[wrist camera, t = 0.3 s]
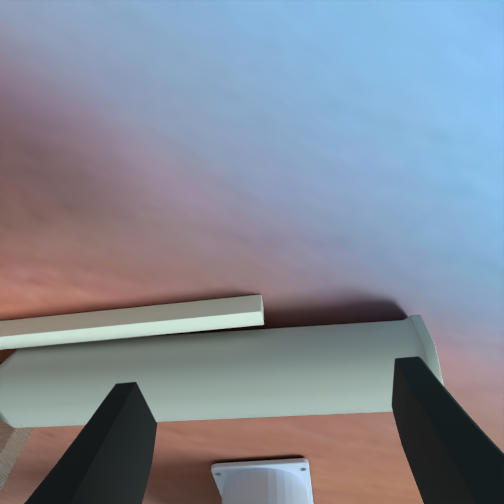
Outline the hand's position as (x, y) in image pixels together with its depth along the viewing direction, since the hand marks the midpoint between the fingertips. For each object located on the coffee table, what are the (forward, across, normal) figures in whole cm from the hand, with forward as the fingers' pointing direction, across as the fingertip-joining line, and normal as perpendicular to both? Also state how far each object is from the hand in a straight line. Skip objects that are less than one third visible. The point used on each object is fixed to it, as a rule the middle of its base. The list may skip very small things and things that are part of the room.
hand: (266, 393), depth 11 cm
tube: (+10, +5, +8) cm, 14 cm away
